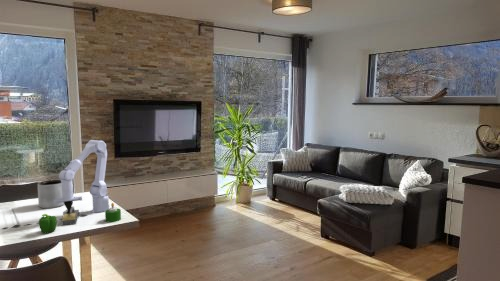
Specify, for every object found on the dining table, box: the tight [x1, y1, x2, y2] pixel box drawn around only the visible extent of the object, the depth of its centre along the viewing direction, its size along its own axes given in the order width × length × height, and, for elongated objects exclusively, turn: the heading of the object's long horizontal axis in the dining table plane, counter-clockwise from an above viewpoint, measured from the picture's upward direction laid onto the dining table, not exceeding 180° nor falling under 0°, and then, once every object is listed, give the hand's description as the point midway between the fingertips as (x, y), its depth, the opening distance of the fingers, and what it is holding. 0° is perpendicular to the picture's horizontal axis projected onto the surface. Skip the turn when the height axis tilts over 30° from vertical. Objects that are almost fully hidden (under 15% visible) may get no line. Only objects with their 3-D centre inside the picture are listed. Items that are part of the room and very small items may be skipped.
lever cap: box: [62, 213, 76, 221], centre depth 205 cm, size 6×7×2 cm
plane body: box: [61, 209, 80, 226], centre depth 211 cm, size 20×7×2 cm, turn 21°
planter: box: [37, 179, 65, 209], centre depth 239 cm, size 16×16×16 cm
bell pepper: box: [38, 213, 58, 234], centre depth 191 cm, size 8×8×10 cm
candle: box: [104, 202, 122, 223], centre depth 209 cm, size 8×8×10 cm
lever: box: [62, 206, 75, 216], centre depth 214 cm, size 3×9×2 cm, turn 0°
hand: (69, 214), depth 210 cm, fingers closed, pressing on lever
